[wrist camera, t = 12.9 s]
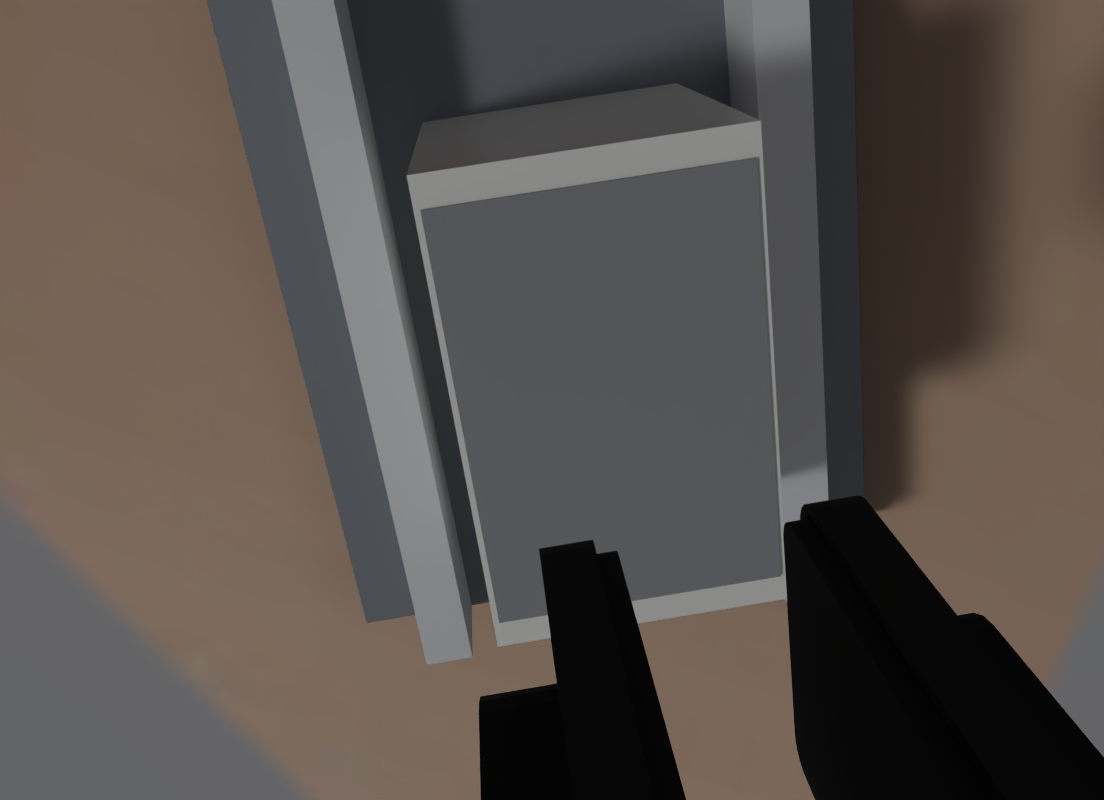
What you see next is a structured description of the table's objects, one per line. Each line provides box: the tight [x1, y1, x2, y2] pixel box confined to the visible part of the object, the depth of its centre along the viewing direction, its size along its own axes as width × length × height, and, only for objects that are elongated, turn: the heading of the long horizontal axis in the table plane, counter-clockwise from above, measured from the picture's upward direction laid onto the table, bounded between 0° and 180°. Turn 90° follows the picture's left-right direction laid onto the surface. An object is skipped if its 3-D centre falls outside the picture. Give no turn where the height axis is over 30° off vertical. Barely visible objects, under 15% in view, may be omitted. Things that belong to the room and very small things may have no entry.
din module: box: [406, 83, 787, 647], centre depth 18 cm, size 8×5×6 cm, turn 8°
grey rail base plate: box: [207, 0, 864, 665], centre depth 21 cm, size 14×12×3 cm
